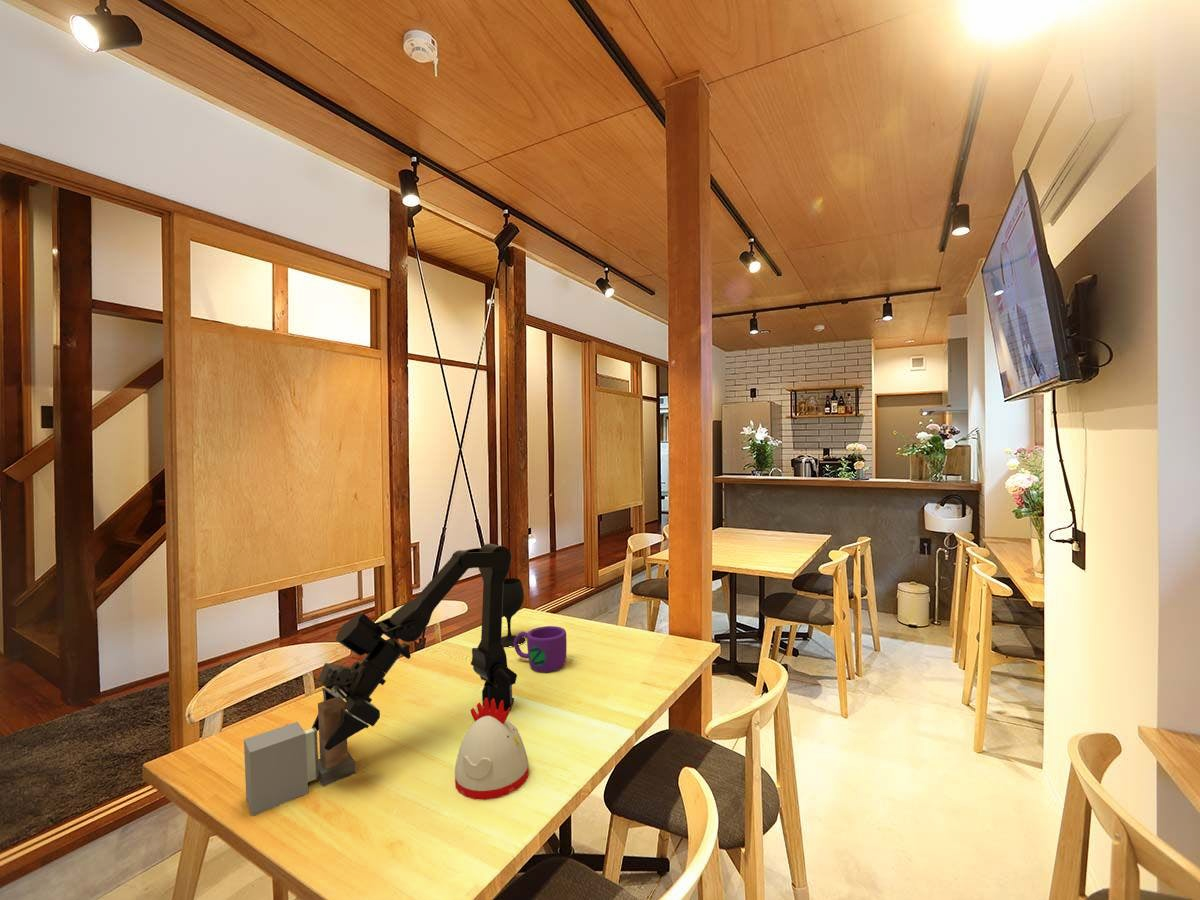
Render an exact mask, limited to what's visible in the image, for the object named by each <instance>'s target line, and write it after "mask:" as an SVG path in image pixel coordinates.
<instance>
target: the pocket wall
mask: <svg viewBox="0 0 1200 900" xmlns="http://www.w3.org/2000/svg"><path fill="white" fill-rule="evenodd" d="M304 731H305V730H304V729H303V727H302V726H301V725H300V723H299V722H298V721H296V722H292V723H289V724H286V725H283V726H280V727H277V728H274V729H271V730H267V731H265V732H262V733H259V734H256V735H253V736H250V737H247V738H244V739H243V746H244V747H243V751H244V754H243V756H244V774H245V775H244V779H245V800H246V803H247V806H248V808H249V811H250V813H251V816H252V817H254V816H257V815H259V814H261V813H264V812H266V811H268V809H269V810H271V809H273V808H275V806H276V807H278V806H280V804H281V805H282V804H286V803H287V802H290V801H293V800H294V799H297V797H298V798H300V797H302V796H304V795H308V794H309V788H308V787H309V786H308V785H309V784H308V783H309V782H307V757H306V733H305V732H304ZM270 808H271V809H270Z"/></svg>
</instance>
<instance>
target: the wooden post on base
mask: <svg viewBox="0 0 1200 900" xmlns="http://www.w3.org/2000/svg"><path fill="white" fill-rule="evenodd" d="M345 701H346V700H345V699H342V698H341V697H340V696H339V697H336V698H333V699H329V700H326V701H324V700H323V701H321V702H317V712H318V713H317V715H318V720H319V730H318V741H319V744H318V746H319V758H318V769H319V778H317V779H318V780H317V779H316V780H317V781H318V782H319V784H320V785H321V787H322V788H324V787H326V786H329V785H331V784H334V783H335V782H338V781H340V780H342V779H345V778H348V777H350V776H353V775H355V774H356V760H355V759H354V757H353V756H352V755H351V754H350V753H349V751H348V750H349V749H348V738H347V739H346V740H344V741H343V742H341V743H340V744H338V745H336V746H335V747H333V748H332V749H330V750H326V749H325V748H324V746H325V744H326V743H327V741H328V739H329V737H330V736H331V734H332V733H333V731H334V729H335V728H336V726H337V725H338V723H339V721H340V720H341V708H343V709H344V710H346V709H345V708H344V707H345V704H346V702H345ZM346 711H347V710H346Z"/></svg>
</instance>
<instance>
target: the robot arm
mask: <svg viewBox="0 0 1200 900" xmlns="http://www.w3.org/2000/svg"><path fill="white" fill-rule="evenodd" d="M511 562H512V552H511V551H510V549H509V548H507V547H506V546H504V545H499V544H498V545H497V544H494V543H486V544H484V545H482V547H476V548H475V547H474V548H469V549H464V550H462V549H459V550H457V551H454V552H453V554H452V555H451V557H450V558H449V559H448V561H447V562H446V563H445V564H444V565H443V567H442V568H441V569H440V570H439V571H438V572H437V574H435V576H434V577H433V578H432V579H431V580H430V581H429V583H428V584H427V585H426V586H425V587H424V588H423V589H422V590H421V592H420V593H419V594H418V595H417V596H415V598H413V599H412V600H410V601H408V602H406V603H404V604H403V605H401V607H399V608H398V609H397V610H396V611H395V612H394V613H392V615H391V616H390V617H388V618H384V619H382V620H380V621H376V622H374V621H373V620H371V618H370V617H369V616H368V615H366V614H364V613H363V612H361V611H359V612H358V613H357V615H356V616H353V617H352V618H351V619H349V620H348V621H347V622H344V624H343V625H342V626H341V627H340V629H339V630H338V632H337V635H336V639H335V640H336V642H337V643H339V644H340V645H342V646H343V647H345V648H347V649H348V650H350V651H351V652H352V653H354V654H356V655H357V656H364V655H365V654H366V655H365V657H364V658H363V659H362V660H361V662H360V661H355V662H354V663H353V664H352V665H351V666H347V665H343V664H341V665H340V664H335V663H329V662H325V663H324V664H323V667H322V669H321V671H320V674H319V677H318V679H317V680H318V681H320V682H321V685H323V687H322V688H321V691H322V697H323V701H326V700H329V699H333V698H336V697H339V696H340V697H341V698H342V699H343V700H344V701H345V702H346V704H345V707H344V708H345V709H346V710H344V709H343V708H341V720H340V721H339V723H338V725H337V726H336V728H335V729H334V731H333V733H332V734H331V736H330V737H329V739H328V741H327V743H326V744H325V746H324V748H325V749H326V750H330V749H332V748H333V747H335V746H336V745H338V744H340V743H341V742H343V741H344V740H346V739H347V740H348V739H349V738H351V737H352V736H353V735H355V734H357V733H359V732H361V731H363V730H364V729H369V727H370V726H371V727H374V726H375V725H376V724H377V722H378V720H379V719H381V711H380V709H378V707H376V706H375V705H374V704H373V703H372V701H373V699H372V698H371V695H372V694H374V691H375V690H376V689H377V688H378V686H379V685H381V686H384V685H385V683H386V682H387V680H386V679H384V678H385V677H386V676H387V674H388V673H389V672H390V670H391V668H392V667H394V664H395V663H396V662H397V660H398V659H399V657H401V656H403V657H404V658H406V659H408V660H409V659H410V658H411V652H410V649H411V645H410V644H408V643H411V642H415V641H417V640H418V639H419V638H420V637H421V636H422V635H423V632H424V631H425V630H426V628H427V626H428V625H429V623H430V622H431V617H432V615H433V612H434V611H435V609H436V608H437V606H439V604H440V603H441V602H442V601H443V600H444V598H445V597H446V596H447V595H448V594H449V592H450V591H451V590H452V589H453V587H454V586H455V585H456V583H458V581H459V580H460V579H461V578H462V577H463V576H464V574H465V573H466V572H467V571H468V570H469V569H477V568H478V571H479V574H480V575H481V578H482V581H483V587H482V588H483V589H482V607H481V608H482V609H481V610H482V613H481V634H480V635H481V636H480V638H481V639H480V642H479V643H478V646H477V647H472V648H471V662H470V665H471V666H472V669H473V671H474V673H476V674H477V675H478V676H479V677H480V679H481V681H484V683H483V685H484V686H483V688H482V691H481V699H482V700H481V701H482V706H483V705H484V699H485V698H486V697H487V699H488V702H489V707H491V700H492V699H493V698H494V700H495V703H496V708H497V710H498V708H499V704H500V702H501V701H502V700H503V703H504V711H505V712H506V711H507V710H508V709H509V707H510V712H511V711H512V707H513V705H514V701H515V697H513V685H515V684H516V683H517V682H516V681H517V677H518V674H517V673H515V671H513V670H512V669H510V668H509V666H508V660H507V659H508V658H507V654H506V650H505V648H504V647H503V645H502V642H501V637H502V628H503V625H502V624H503V615H502V606H503V583H504V580H505V579H506V578H507V576H508V574H509V572H510V567H511ZM383 635H384V636H386V637H387V638H388V639H385V638H383V637H382V636H383ZM397 640H401V641H403V642H404V643H400V642H399V641H397ZM314 727H315V728H316V729H317V732H319V720H318V714H317V716H316V717H315V720H314V722H313V724H312V726H311V728H314Z"/></svg>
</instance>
